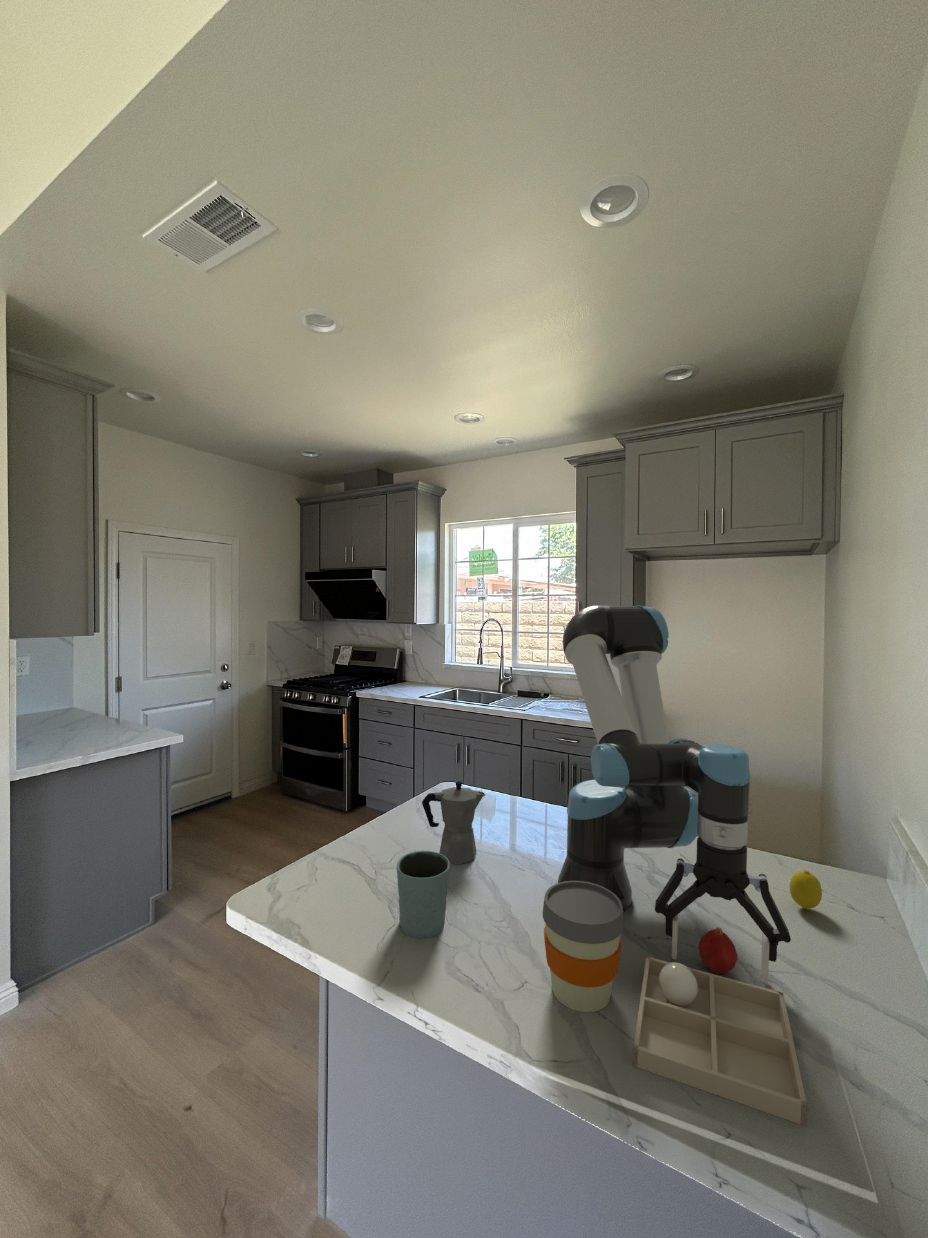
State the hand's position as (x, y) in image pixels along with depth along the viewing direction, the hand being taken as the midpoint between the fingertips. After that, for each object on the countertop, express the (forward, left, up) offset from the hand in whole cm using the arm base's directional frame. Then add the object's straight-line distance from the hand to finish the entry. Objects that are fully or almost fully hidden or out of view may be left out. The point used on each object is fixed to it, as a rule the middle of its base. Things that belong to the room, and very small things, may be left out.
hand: (718, 966), depth 90 cm
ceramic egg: (-6, -10, -1) cm, 12 cm away
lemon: (+17, +28, -2) cm, 33 cm away
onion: (0, 0, -2) cm, 2 cm away
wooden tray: (-1, -15, -2) cm, 15 cm away
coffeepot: (-57, +18, -2) cm, 60 cm away
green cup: (-51, -9, -2) cm, 52 cm away
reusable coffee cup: (-20, -14, -2) cm, 24 cm away
